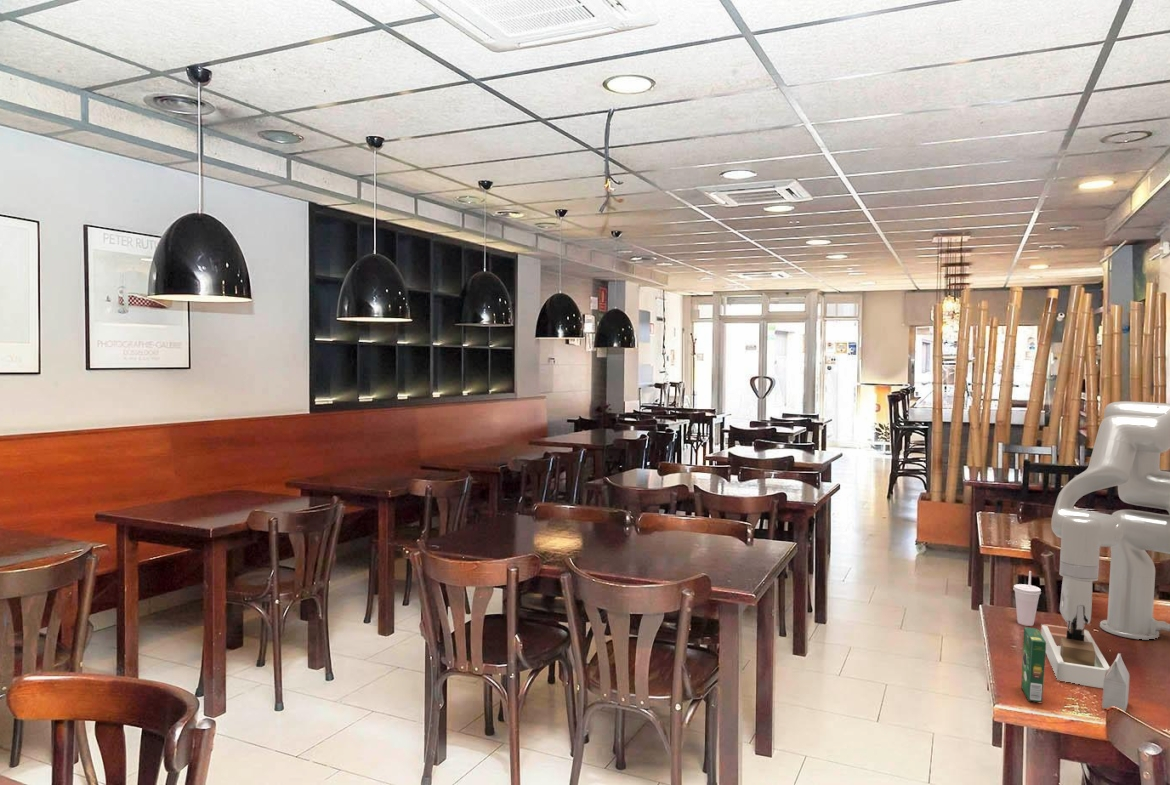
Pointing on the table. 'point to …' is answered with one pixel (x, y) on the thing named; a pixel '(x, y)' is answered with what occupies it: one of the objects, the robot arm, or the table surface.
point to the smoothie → (1026, 602)
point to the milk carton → (1116, 685)
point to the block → (1077, 652)
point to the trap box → (1070, 670)
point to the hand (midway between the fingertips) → (1074, 649)
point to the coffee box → (1033, 664)
